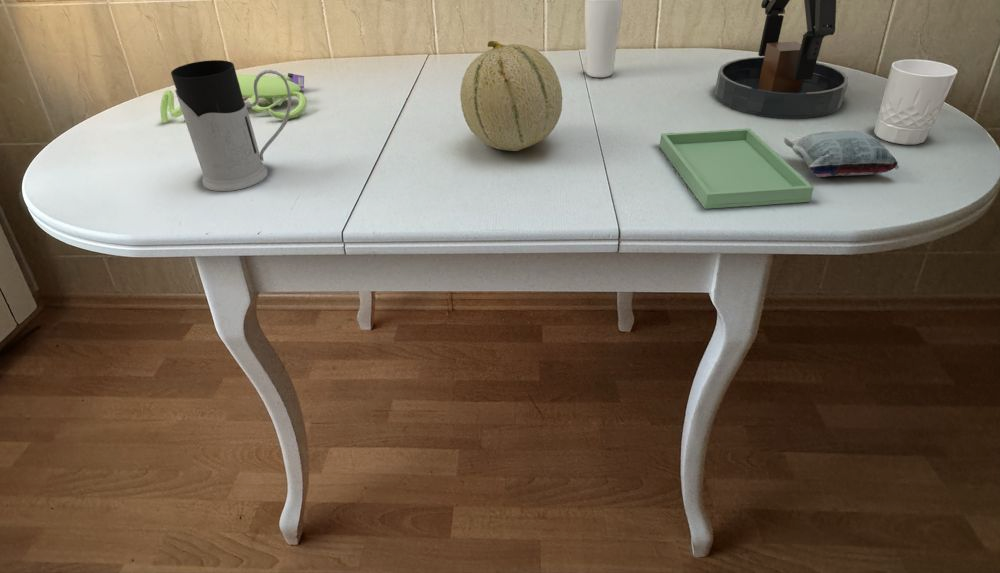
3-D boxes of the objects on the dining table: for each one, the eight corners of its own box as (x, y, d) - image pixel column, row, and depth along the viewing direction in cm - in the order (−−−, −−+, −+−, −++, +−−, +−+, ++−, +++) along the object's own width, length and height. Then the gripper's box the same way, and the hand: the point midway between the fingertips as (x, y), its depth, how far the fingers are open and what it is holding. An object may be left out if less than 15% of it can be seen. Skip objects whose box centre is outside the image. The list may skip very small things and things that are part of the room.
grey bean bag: (779, 156, 87) (788, 122, 84) (865, 154, 87) (876, 120, 84) (804, 185, 80) (815, 149, 77) (897, 182, 80) (911, 147, 77)
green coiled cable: (194, 88, 120) (185, 59, 117) (329, 86, 119) (323, 56, 116) (145, 124, 106) (133, 91, 102) (299, 122, 104) (291, 88, 101)
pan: (805, 76, 115) (811, 54, 113) (866, 114, 99) (874, 89, 97) (698, 82, 114) (702, 60, 112) (742, 122, 98) (747, 97, 96)
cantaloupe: (555, 169, 86) (558, 58, 77) (453, 164, 88) (444, 56, 80) (566, 129, 98) (569, 29, 89) (475, 126, 100) (469, 28, 91)
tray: (659, 146, 91) (661, 133, 90) (746, 141, 92) (749, 128, 91) (704, 209, 76) (707, 194, 75) (809, 202, 76) (814, 187, 75)
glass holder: (202, 170, 89) (167, 64, 81) (303, 153, 93) (279, 50, 85) (202, 196, 83) (163, 83, 74) (310, 176, 87) (285, 67, 78)
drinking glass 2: (574, 74, 120) (577, -10, 111) (597, 66, 124) (601, -16, 115) (601, 82, 116) (607, -5, 107) (624, 73, 120) (631, -11, 111)
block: (784, 88, 109) (796, 41, 104) (798, 98, 104) (810, 49, 100) (756, 90, 108) (767, 42, 104) (769, 100, 104) (780, 51, 100)
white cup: (904, 150, 88) (930, 79, 82) (857, 132, 93) (879, 64, 88) (942, 140, 90) (971, 70, 84) (894, 122, 96) (918, 56, 90)
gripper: (758, -89, 101) (733, 47, 113) (837, -72, 81) (796, 91, 93) (803, -91, 101) (773, 45, 114) (892, -74, 81) (844, 89, 94)
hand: (783, 66), depth 104 cm, fingers open, 12 cm apart
